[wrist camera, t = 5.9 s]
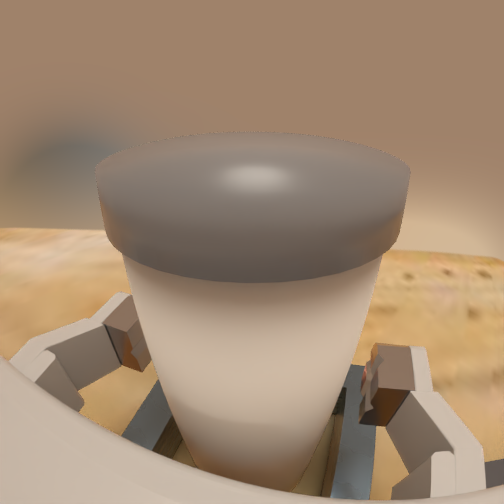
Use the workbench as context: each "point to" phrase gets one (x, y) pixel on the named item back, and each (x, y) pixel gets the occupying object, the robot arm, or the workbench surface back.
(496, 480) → the mat
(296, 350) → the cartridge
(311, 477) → the workbench surface
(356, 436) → the housing
